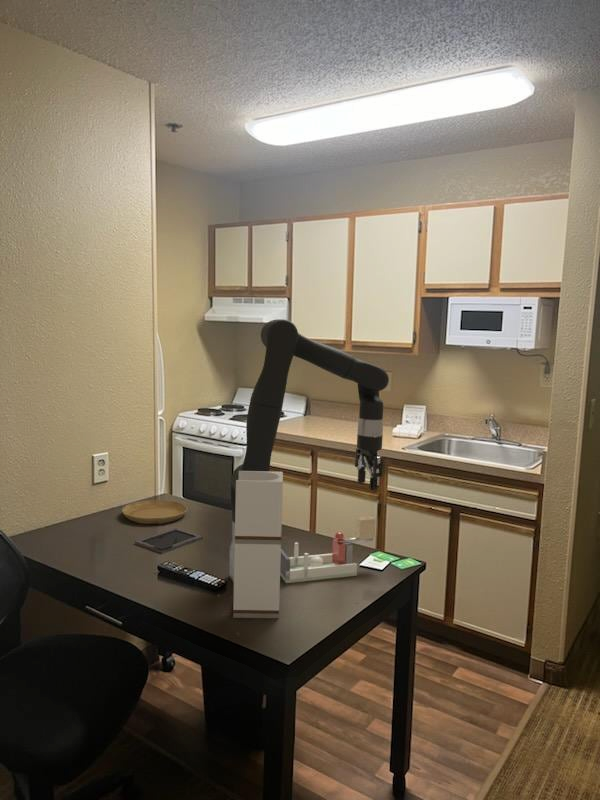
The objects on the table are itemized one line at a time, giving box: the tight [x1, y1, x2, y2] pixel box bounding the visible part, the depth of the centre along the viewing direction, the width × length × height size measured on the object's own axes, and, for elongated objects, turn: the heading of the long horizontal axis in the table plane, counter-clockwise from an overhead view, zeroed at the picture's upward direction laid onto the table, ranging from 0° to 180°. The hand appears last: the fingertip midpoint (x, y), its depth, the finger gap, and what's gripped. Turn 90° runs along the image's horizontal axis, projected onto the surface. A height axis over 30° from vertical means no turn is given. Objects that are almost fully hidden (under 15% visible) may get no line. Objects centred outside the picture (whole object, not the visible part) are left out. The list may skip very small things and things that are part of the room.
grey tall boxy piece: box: [232, 470, 284, 619], centre depth 156 cm, size 11×11×35 cm
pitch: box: [280, 542, 358, 584], centre depth 181 cm, size 22×10×8 cm, turn 109°
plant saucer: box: [121, 499, 188, 525], centre depth 231 cm, size 24×24×3 cm
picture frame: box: [134, 527, 204, 554], centre depth 204 cm, size 13×2×18 cm
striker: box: [331, 515, 376, 565], centre depth 185 cm, size 12×5×14 cm, turn 109°
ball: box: [310, 556, 323, 567], centre depth 182 cm, size 4×4×4 cm
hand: (367, 486), depth 184 cm, fingers open, 8 cm apart
